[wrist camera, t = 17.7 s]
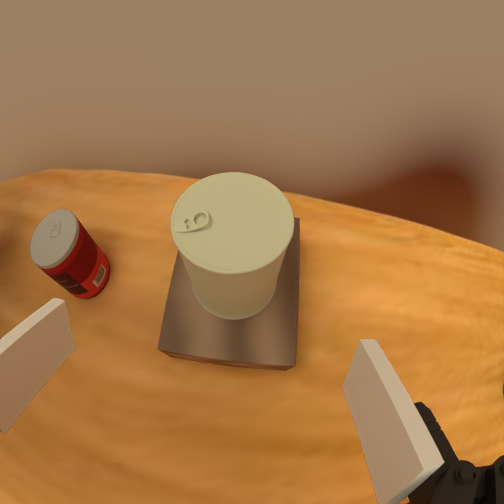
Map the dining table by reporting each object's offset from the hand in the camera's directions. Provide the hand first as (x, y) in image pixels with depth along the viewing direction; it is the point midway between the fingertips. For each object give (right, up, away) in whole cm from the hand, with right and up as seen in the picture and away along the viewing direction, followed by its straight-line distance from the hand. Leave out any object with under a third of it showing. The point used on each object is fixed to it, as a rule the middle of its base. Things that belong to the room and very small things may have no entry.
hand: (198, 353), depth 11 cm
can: (0, +1, +20) cm, 20 cm away
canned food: (-22, +1, +25) cm, 33 cm away
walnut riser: (0, -2, +25) cm, 25 cm away
